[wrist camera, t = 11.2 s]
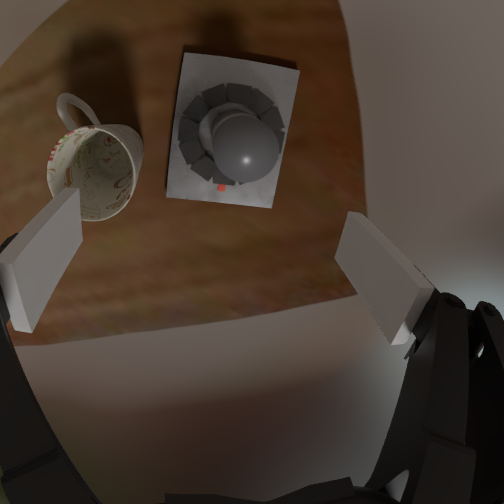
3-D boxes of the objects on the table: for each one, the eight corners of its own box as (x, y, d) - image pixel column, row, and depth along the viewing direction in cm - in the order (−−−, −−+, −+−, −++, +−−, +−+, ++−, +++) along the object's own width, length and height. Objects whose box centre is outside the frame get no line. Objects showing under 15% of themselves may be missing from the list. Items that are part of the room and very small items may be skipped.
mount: (167, 194, 35) (164, 203, 33) (185, 53, 28) (183, 50, 25) (269, 205, 38) (274, 215, 35) (297, 71, 30) (305, 70, 28)
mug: (112, 199, 35) (84, 238, 26) (53, 116, 28) (7, 132, 20) (168, 158, 33) (155, 187, 25) (107, 69, 27) (72, 66, 19)
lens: (206, 152, 33) (207, 179, 24) (214, 105, 30) (218, 113, 22) (254, 158, 34) (272, 187, 25) (262, 113, 31) (285, 124, 23)
